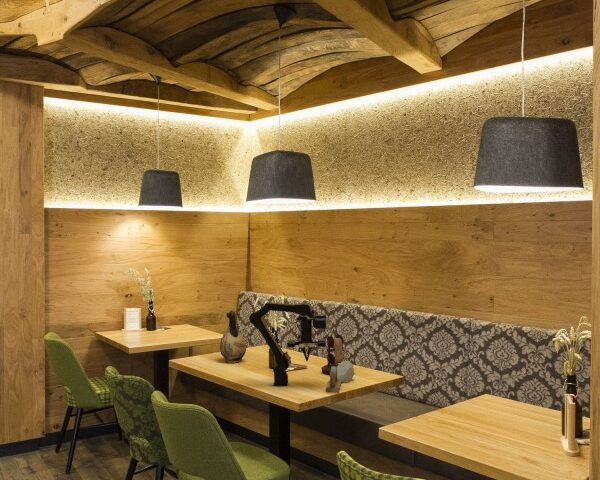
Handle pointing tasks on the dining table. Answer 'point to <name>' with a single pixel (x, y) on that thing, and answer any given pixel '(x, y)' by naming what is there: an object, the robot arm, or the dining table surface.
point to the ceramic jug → (232, 341)
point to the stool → (333, 383)
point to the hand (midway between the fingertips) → (307, 360)
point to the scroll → (338, 349)
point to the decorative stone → (345, 371)
